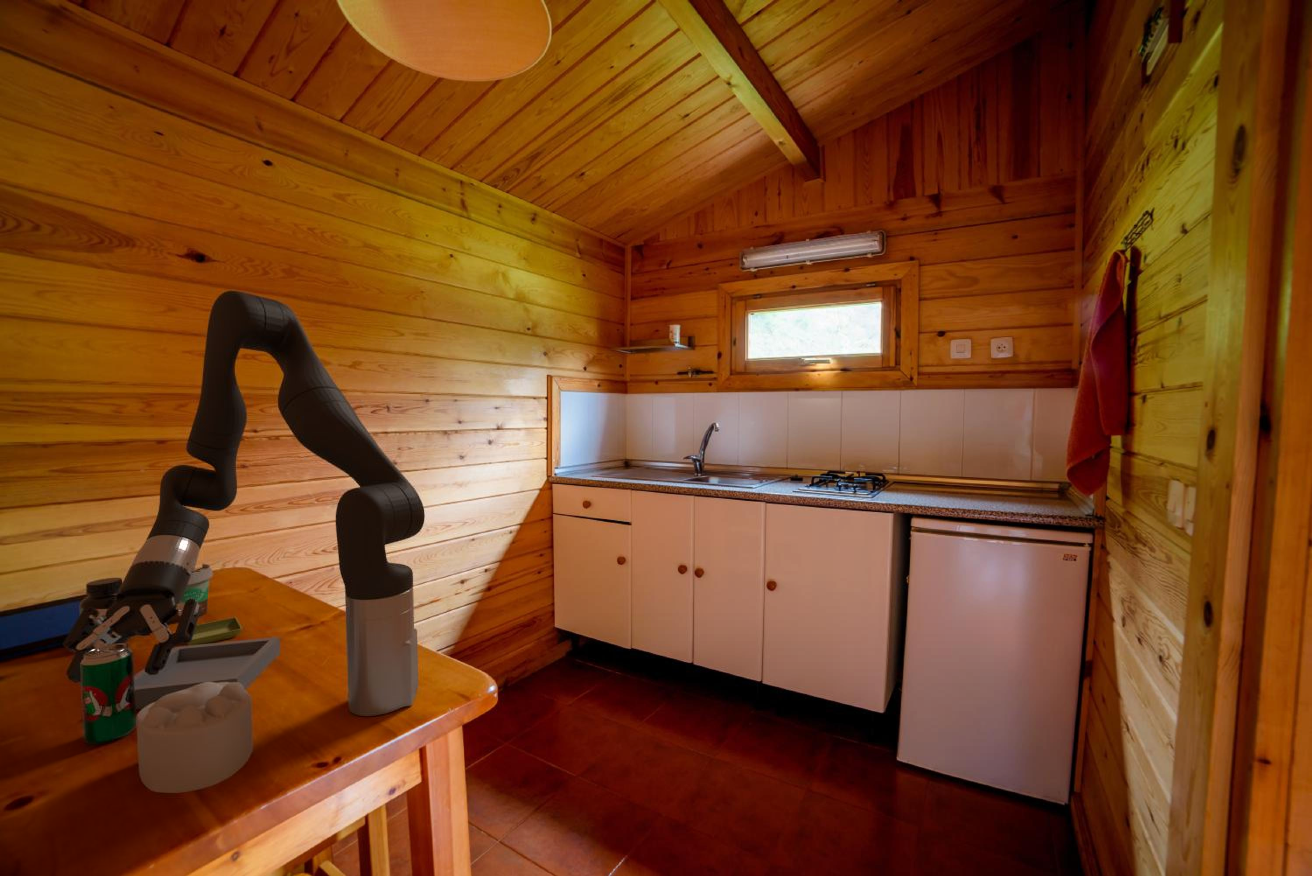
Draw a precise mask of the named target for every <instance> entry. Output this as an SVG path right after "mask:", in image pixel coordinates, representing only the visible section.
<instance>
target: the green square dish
mask: <svg viewBox="0 0 1312 876" xmlns="http://www.w3.org/2000/svg"><path fill="white" fill-rule="evenodd" d="M242 630H243V627H242V625H241V623H240V621H239V620H238V617H236V616H235V617H229V618H225V619H219V620H214V621H208V622H204V623H200V624H199V623H198V624H197V625H196V628H195V631H194V634H193V637H192V640H191V641H190V642H189V643H186V645H187V646H190V645H201V644H211V643H216V642H218V641H223V640H227V639H232V638H236V637H237V636H238V635H239V634H240V633H241V631H242Z"/></svg>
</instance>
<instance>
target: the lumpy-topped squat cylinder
mask: <svg viewBox="0 0 1312 876" xmlns="http://www.w3.org/2000/svg"><path fill="white" fill-rule="evenodd" d="M252 715H253V713H252V698H251V695H250V694H249V692H248V691H247V690H246V689H244V687H243V685H242V684H241V683H238V682H231V683H230V682H219V683H214V682H204V683H201V684H198V685H195V686H193V687H190V688H188V689H185V690H180V691H177V692H174V693H170V694H167V695H165V696H163V697H161V698H160V699H159V700H158V701H156V702H154V703H151V704H149V705H147V706H146V707H144V708H143V709H140V711H138V713H136V733H137V734H136V736H137V757H138V774H139V777H140V780H141V782H142V784H143V785H144V786H145V787H146V788H147V789H148V790H149V791H151V792H155V793H165V794H166V793H167V794H176V793H178V794H179V793H186V792H187V793H188V792H192V791H197V790H202V789H206V788H210V787H211V786H212V787H213V786H215V785H217V784H219V783H221V782H224V781H225V780H227V779H229V778H230V777H232V776H234V774H236V773H237V772H238V771H240V770H241V768H243V767H244V765H246V763H247V762H248V761H249V759H250V757H251V755H252V752H253V750H254V747H253V746H254V745H253V744H254V743H253V742H254V740H253V738H254V737H253V717H252Z"/></svg>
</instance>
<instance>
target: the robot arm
mask: <svg viewBox="0 0 1312 876" xmlns="http://www.w3.org/2000/svg"><path fill="white" fill-rule="evenodd" d="M210 310H211V311H210V313H209V318H208V324H207V331H206V338H205V340H206V341H205V348H204V357H203V369H202V376H201V377H202V380H201V389H200V395H199V402H198V406H197V409H196V413H195V416H194V419H193V421H192V422H193V423H192V424H191V425H192V426H191V429H190V432H189V435H188V439H187V442H186V449H185V450H186V452H187V454H188V455H190V456H191V457H192V458H194V459H197V460H198V461H201V462H203V463H206V464H208V465H210V466H211V467H212V468H213V469H208V468H206V467H198V466H193V465H189V464H188V465H187V464H178V465H175V466H173V467H171V468H169V469H168V470H167V471H166V472H165V473H163V476H162V477H161V480H160V485H159V486H160V487H159V505H158V512H157V516H156V519H155V521H154V523H153V525H152V527H151V530H150V531H149V534H148V536H147V538H146V539H145V541H144V543H143V545H142V546H141V547H140V548H139V550H138V551H137V553H136V555H135V557H134V559H133V561H132V562H131V564H130V567H129V569H128V571H127V573H126V575H125V577H124V578H123V580H122V585H121V587H120V589H119V591H118V593H117V598H116V601H115V603H114V604H113V605H112V606H111V607H110V608H109V609H95V608H94V607H92V606H88V607H86V608H85V609H84V610H83V611H82V613H81V615H80V614H79V616H78V618H77V620H76V621H75V623H74V624H73V626H72V628H71V630H70V631H69V632H68V634H67V636H66V637H65V639H64V641H63V643H62V646H63V647H64V648H66V649H68V650H69V651H70V652H72V653H74V656H73V658H72V660H71V662H70V664H69V666H68V668H67V670H66V674H65V675H66V676H67V678H68V680H70V681H72V682H73V683H75V684H76V683H81V675H80V663H81V661H82V660H83V659H84V654H85V653H86V652H88V651H90V650H92V649H95V648H98V647H101V646H106V645H108V644H112V643H114V642H115V641H117V640H118V639H119V638H121V637H123V638H126V637H131V638H132V637H135V636H140V637H141V636H142V637H146V636H150V635H151V634H154V636H155V637H156V639H157V641H158V643H155V644H154V645H153V647H152V650H151V653H150V655H149V657H148V659H147V662H146V664H145V666H144V669H145V672H146V673H148V674H149V675H156V674H158V672H159V670H162V669H163V668H164V667H165V664H166V662H167V659H168V657H169V655H170V652H171V650H172V649H173V648H175V647H177V646H178V645H180V644H187V643H189V642H190V641H191V640H192V637H193V634H194V631H195V628H196V625H198V622H199V619H200V617H199V615H200V612H201V606H200V605H199V604H198V603H197V602H196V601H195V600H194V599H189V600H187V601H186V602H185V603H179V602H180V601H181V599H182V597H183V594H184V592H185V589H186V587H187V585H188V582H189V580H190V577H191V575H192V573H193V571H194V570H196V569H195V568H196V565H197V563H198V562H197V561H198V558H199V553H200V551H201V549H202V545H203V543H204V541H205V538H206V536H207V534H208V531H209V529H210V521H209V519H208V518H207V517H206V516H205V515H204V514H202V513H201V512H199V511H197V510H194V509H199V510H200V509H201V510H204V511H212V512H214V511H215V512H220V511H224V510H225V509H227V508H228V507H230V506H231V505H232V504H233V502H234V501H235V499H236V497H237V493H238V480H237V477H238V476H237V458H238V457H237V456H238V452H239V448H240V444H241V442H242V438H243V435H244V432H245V429H246V426H247V422H248V421H247V418H248V412H247V406H246V403H245V401H244V398H243V397H244V396H243V395H242V392H241V389H240V387H239V384H238V380H237V377H236V361H237V359H238V355H239V352H240V351H241V349H244V350H249V351H250V350H251V351H256V352H264V353H266V354H269V355H270V356H271V357H272V358H273V359H274V361H276V363H277V364H278V366H279V368H280V369H281V371H282V373H283V376H282V381H281V384H280V386H279V389H278V395H277V407H278V410H279V413H280V415H281V416H282V419H283V420H284V422H285V423H286V425H287V427H288V428H289V429H290V431H291V432H292V434H293V436H294V437H295V438H296V440H297V441H298V442H299V444H301V446H303V447H304V448H306V449H307V450H308V451H310V453H312V454H314V455H315V456H316V457H318V458H320V459H322V460H324V461H325V462H327V463H329V464H330V465H332V466H334V467H335V468H337V469H339V470H341V471H342V472H343V473H345V474H347V475H348V476H349V477H350V478H351V479H352V480H354V481H355V483H356V484H357V485H358V487H354V488H350V489H348V490H346V491H345V492H344V493H343V494H342V495H341V496H340V497H339V500H338V502H337V506H336V511H335V533H336V534H335V535H336V541H337V542H336V543H337V554H338V567H339V573H340V576H341V579H342V581H343V585H344V593H345V598H344V599H345V600H344V601H345V628H346V629H345V634H346V635H345V636H346V637H345V638H346V639H345V640H346V665H347V666H346V667H347V668H346V669H347V671H346V672H347V701H348V711H349V712H351V714H353V715H356V716H362V717H373V716H379V715H380V716H381V715H384V714H385V715H386V714H388V713H391V712H394V711H397V710H399V709H402V708H404V707H411V706H412V705H413V703H414V701H415V697H416V694H417V692H418V689H419V662H418V661H419V660H418V658H419V655H418V652H419V651H418V650H419V649H418V630H417V628H415V610H414V607H415V606H414V601H415V600H414V572H413V569H412V568H411V567H410V566H409V565H406V564H403V563H396V562H389V561H388V558H387V553H386V545H391V544H394V543H398V542H402V541H404V540H407V539H410V538H412V537H414V536H416V535H417V534H419V532H421V531H422V529H423V526H424V524H425V520H426V519H425V518H426V517H425V507H424V504H423V502H422V500H421V497H420V495H419V493H418V492H417V490H416V488H414V486H413V485H412V484H411V482H410V481H409V479H407V478H406V477H405V476H404V474H403V473H402V472H401V471H400V470H399V469H398V468H397V467H396V465H395V464H394V463H393V462H392V461H391V459H390V458H389V457H388V456H387V455H386V454H385V453H384V451H383V450H382V449H381V447H380V446H379V445H378V443H377V442H376V440H375V438H374V437H373V436H372V435H371V434H370V432H369V431H368V429H367V428H366V427H365V425H364V424H363V423H362V421H361V420H360V418H359V417H358V415H357V413H356V411H355V410H354V408H353V406H352V405H351V404H350V402H349V401H348V400H347V398H346V396H345V395H344V394H343V392H342V391H341V389H340V387H338V385H337V384H336V383H335V381H334V380H333V378H332V377H331V376H330V374H329V372H328V370H327V369H326V368H325V366H324V364H323V363H322V361H321V359H320V358H319V356H318V355H317V353H316V351H315V350H314V348H313V345H312V344H311V341H310V340H309V338H308V336H307V334H306V332H305V329H304V328H303V326H302V324H301V322H300V321H299V318H298V316H296V314H295V312H294V311H293V310H292V309H291V308H290V307H289V306H288V305H287V304H285V303H283V302H281V301H279V300H276V299H272V298H268V297H264V296H261V295H256V294H252V293H248V292H244V291H238V290H228V291H224V292H223V293H221V294H219V295H218V296H217V298H216V299H215V301H214V303H213V305H212V306H211V309H210ZM191 508H192V509H191ZM193 508H194V509H193ZM178 612H179V615H180V616H181V617H180V620H179V623H177V627H176V629H175V632H173V633H172V631H171V629H170V628H169V626H168V625H167V624H166V622H168V621H169V620H170V619H171V618H173V617H174V616H175V615H176V614H177V613H178ZM105 618H107V619H108V620H106V621H105V622H104V623H102V621H103V620H104V619H105ZM97 625H100V626H98V627H97ZM96 627H97V628H96ZM111 628H112V630H113V631H114V632H112V633H111V634H107V632H108V630H110V629H111ZM417 688H418V689H417Z"/></svg>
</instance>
